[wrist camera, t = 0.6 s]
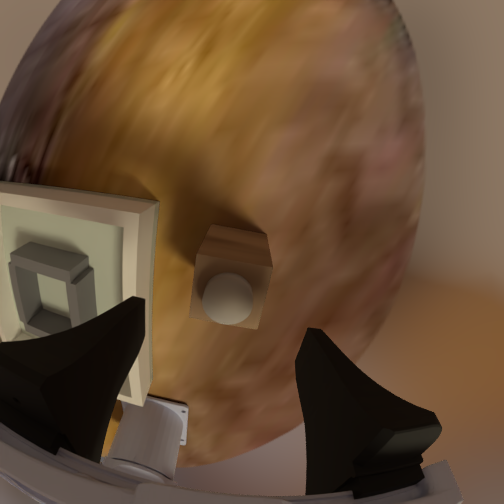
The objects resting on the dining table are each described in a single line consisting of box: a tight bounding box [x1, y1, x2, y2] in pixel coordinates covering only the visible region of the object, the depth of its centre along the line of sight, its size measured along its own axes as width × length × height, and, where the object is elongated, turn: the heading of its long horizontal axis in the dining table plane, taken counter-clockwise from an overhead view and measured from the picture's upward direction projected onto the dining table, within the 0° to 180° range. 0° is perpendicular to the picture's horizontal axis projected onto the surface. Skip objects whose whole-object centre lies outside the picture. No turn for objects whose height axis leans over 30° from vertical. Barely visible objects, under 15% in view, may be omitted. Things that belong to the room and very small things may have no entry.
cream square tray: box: [0, 181, 160, 407], centre depth 20 cm, size 18×18×4 cm
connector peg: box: [189, 224, 273, 329], centre depth 17 cm, size 4×4×7 cm
